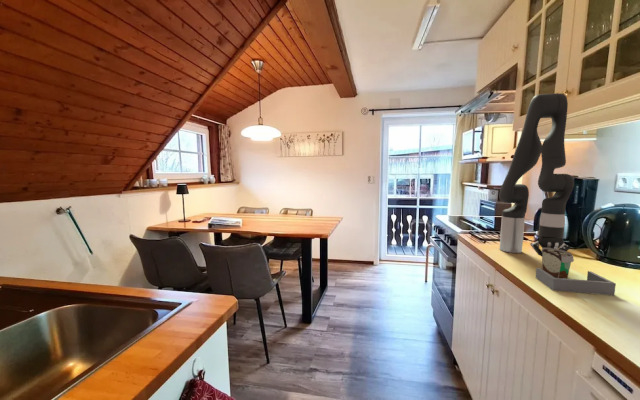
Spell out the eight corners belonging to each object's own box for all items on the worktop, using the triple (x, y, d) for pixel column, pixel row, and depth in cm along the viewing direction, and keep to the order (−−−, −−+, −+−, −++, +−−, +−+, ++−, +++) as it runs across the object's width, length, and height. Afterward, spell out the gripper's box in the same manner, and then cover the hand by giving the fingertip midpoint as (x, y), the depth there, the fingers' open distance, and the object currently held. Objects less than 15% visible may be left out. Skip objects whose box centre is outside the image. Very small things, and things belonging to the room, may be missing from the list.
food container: (580, 285, 94) (583, 257, 93) (560, 284, 95) (563, 256, 94) (557, 272, 106) (559, 247, 105) (539, 271, 107) (541, 247, 106)
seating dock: (535, 278, 100) (536, 267, 100) (590, 282, 96) (591, 271, 96) (552, 290, 90) (553, 278, 90) (614, 295, 86) (615, 283, 86)
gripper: (565, 223, 107) (561, 265, 109) (527, 222, 110) (524, 262, 112) (578, 227, 100) (573, 271, 102) (537, 225, 103) (533, 269, 105)
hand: (547, 267), depth 107 cm, fingers closed
